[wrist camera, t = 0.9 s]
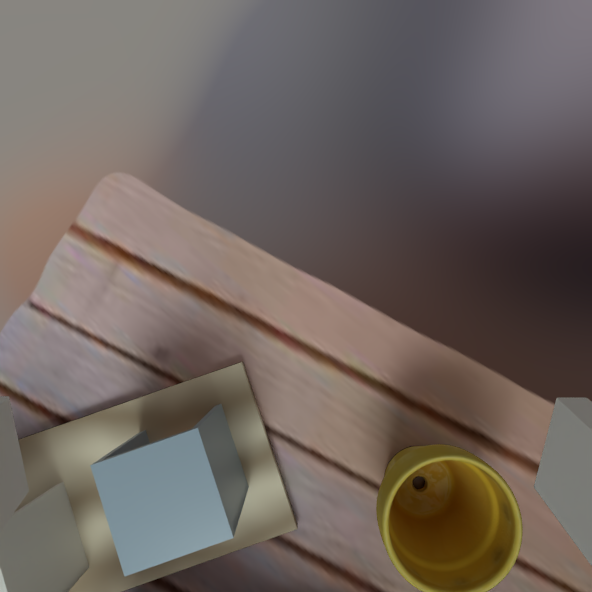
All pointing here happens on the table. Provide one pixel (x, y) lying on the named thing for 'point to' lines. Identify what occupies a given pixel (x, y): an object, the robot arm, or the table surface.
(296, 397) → the table surface
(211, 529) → the hollow pale blue box
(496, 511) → the plant pot
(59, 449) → the birch board
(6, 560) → the box
